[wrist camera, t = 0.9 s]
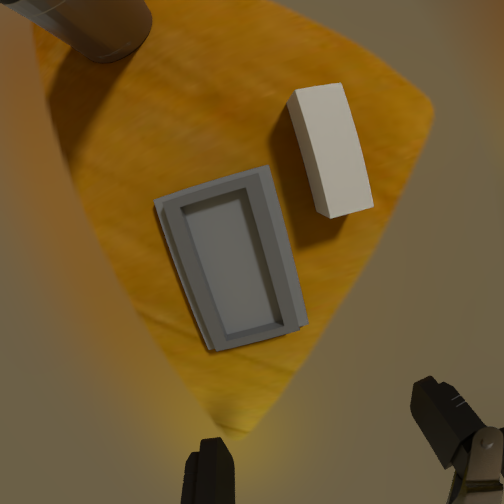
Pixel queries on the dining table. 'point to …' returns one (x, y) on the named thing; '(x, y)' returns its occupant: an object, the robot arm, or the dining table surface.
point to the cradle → (234, 258)
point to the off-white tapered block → (330, 150)
